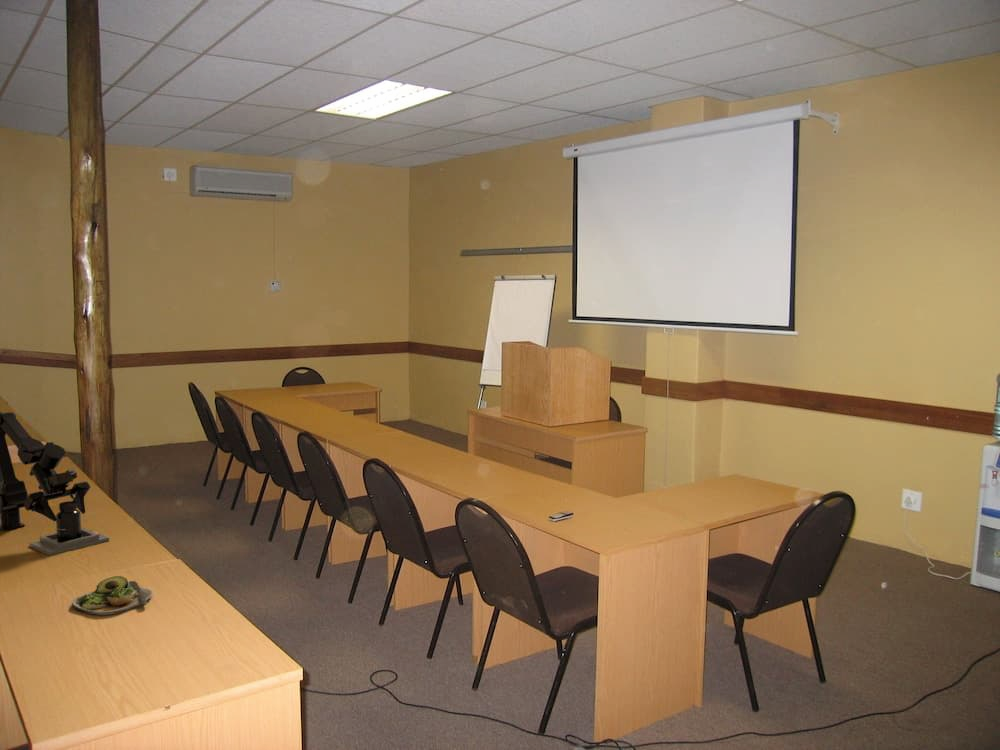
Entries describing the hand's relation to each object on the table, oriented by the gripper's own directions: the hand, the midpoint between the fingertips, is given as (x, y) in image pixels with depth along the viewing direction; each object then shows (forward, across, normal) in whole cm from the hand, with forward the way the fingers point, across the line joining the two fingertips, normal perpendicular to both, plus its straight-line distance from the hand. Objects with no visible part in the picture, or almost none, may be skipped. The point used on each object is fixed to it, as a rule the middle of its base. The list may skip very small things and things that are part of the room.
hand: (70, 516), depth 243 cm
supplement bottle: (+5, 0, +6) cm, 8 cm away
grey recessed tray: (+6, 0, +7) cm, 9 cm away
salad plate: (+44, -21, -31) cm, 57 cm away
